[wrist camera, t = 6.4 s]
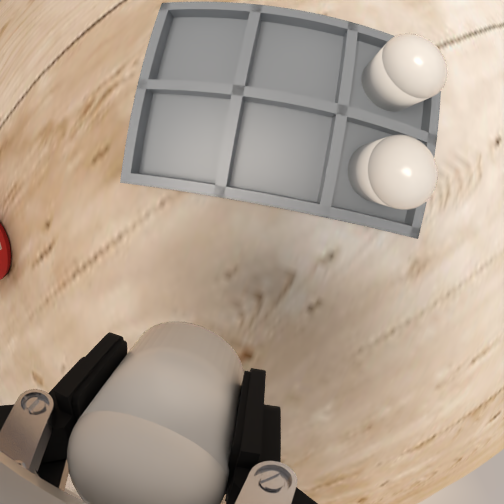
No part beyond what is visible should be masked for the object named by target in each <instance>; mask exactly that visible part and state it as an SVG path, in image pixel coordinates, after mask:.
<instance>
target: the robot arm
mask: <svg viewBox="0 0 504 504" xmlns="http://www.w3.org/2000/svg"><path fill="white" fill-rule="evenodd" d="M126 355H127V342H126V341H124V340H123V337H122V336H119V335H116V334H113V333H108V334H107V335H106V336H105V337H104V338H103V339H102V340H101V341H100V342H99V343H98V344H97V345H96V346H95V347H94V348H93V349H92V350H91V351H90V352H89V353H88V354H87V356H86V357H83V358H81V359H80V360H79V361H78V362H77V363H76V364H75V365H74V366H73V368H72V369H71V370H70V371H69V372H68V373H67V374H66V375H65V376H64V377H63V378H62V379H61V380H60V381H59V383H58V384H57V385H56V386H55V387H54V388H53V389H52V390H51V391H50V392H49V393H47V392H45V391H42V390H38V389H32V390H28V391H25V392H24V393H22V394H21V395H20V396H19V397H18V399H17V401H16V403H15V405H4V406H0V504H88V503H86V502H84V501H82V500H80V499H78V498H76V497H74V496H72V495H70V494H68V493H66V492H64V490H65V485H66V481H67V477H68V473H69V469H68V463H67V448H68V442H69V438H70V435H71V432H72V430H73V428H74V426H75V424H76V423H77V421H78V419H79V418H80V417H81V415H82V414H83V412H84V411H85V410H86V408H87V407H88V406H89V404H90V403H91V402H92V400H93V399H94V397H95V396H96V395H97V393H98V392H99V391H100V389H101V388H102V387H103V385H104V384H105V383H106V381H107V380H108V379H109V377H110V376H111V375H112V373H113V372H114V371H115V369H116V368H117V367H118V365H119V364H120V363H121V361H122V360H123V359H124V358H125V356H126ZM265 375H266V371H265V370H259V369H253V368H251V370H250V372H249V371H245V372H244V376H243V381H242V385H241V391H240V397H239V403H238V409H237V415H236V422H235V428H234V434H233V440H232V446H231V451H230V457H229V463H228V467H229V476H228V482H227V487H226V491H225V494H226V499H225V501H227V502H226V504H317V503H316V502H315V501H313V500H312V499H311V498H310V497H308V496H307V495H306V494H304V493H303V492H302V491H301V490H299V489H298V488H297V487H296V486H297V477H296V474H295V473H294V471H293V470H292V469H291V468H290V467H288V466H287V465H285V464H283V463H280V452H281V412H280V407H277V406H270V405H264V393H265Z"/></svg>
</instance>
